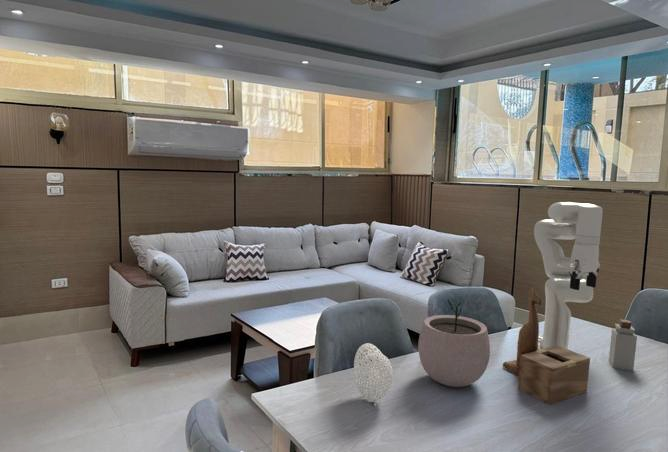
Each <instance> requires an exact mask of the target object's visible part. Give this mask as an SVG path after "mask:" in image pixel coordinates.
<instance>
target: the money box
mask: <svg viewBox="0 0 668 452" xmlns="http://www.w3.org/2000/svg"><path fill="white" fill-rule="evenodd" d="M568 349H569V348H568ZM568 349H565V348H562V347H560V346H554V347H550V348H546V349H542V350H537V351H535V352H531V353H527V354H523V355H520V367H519V376H518V381H517V389H518V390H519V391H521V392H523V393H525V394H527V395H529V396H531V397H533V398H535V399H537V400H538V401H541V402H543V403H545V404H546V405H548V406H551V405H554V404H556V403H560V402H562V401H565V400H567V399H571V398H573V397H576V396H579V395H582V394H584V393H587V392H588V383H589V375H590V373H589V372H590V363H591V357H589V356H586V355H584V354H580V353H578V352H576V351H572V350H570V349H569V350H568Z"/></svg>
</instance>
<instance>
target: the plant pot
mask: <svg viewBox="0 0 668 452" xmlns="http://www.w3.org/2000/svg"><path fill="white" fill-rule="evenodd" d="M461 300H462V299H461ZM461 300H459V302H458V304H457V305H455V309H454V307H452V304H451V302H450V301H449V299H447V302H448V304H449V306H450V309H451V311H453V312H454V313H455V314H453V315H452V314H438V315H437V314H436V315H432V316H428V317H426V318H425V319H424V321H423V323H422V326H421V329H420V333H419V337H418V345H417V347H418V348H417V349H418V356H419V359H420V364H421V366H422V367H423V370H424V371H425V373H426V374H427V375H428V376H429V377H430V378H431V379H433V380H434V381H436V382H437V383H438V384H442V385H443V386H447V387H451V388H453V387H455V388H461V387H466V386H470V385H472V384H474V383H475V382H477V381H478V380H480V379H481V377H482V376H483V375H484V373H485V372H486V370H487V368H488V365H489V361H490V354H491V345H490V336H489V332H488V328H487V326H486V324H484V323H483V322H481V321H479V320H476V319H474V318H470V317H465V316H461V315H460V314H461V312H462V307H460V309H459V306H461V304H462V302H461ZM458 310H459V312H458Z"/></svg>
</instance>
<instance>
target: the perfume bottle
mask: <svg viewBox="0 0 668 452" xmlns="http://www.w3.org/2000/svg"><path fill="white" fill-rule="evenodd" d="M614 325H615V328H611V336H610V343H609V353H608V355H609V356H608V363H609V364H610V365H611V367H612V368H613V369H621V370H626V371H627V370H628V371H634V370H635V369H634V368H635V358H636V350H637V340H638V336H637V335H636V334H635V332H636V329H635V328H634V326H632V321H630V320H627V319H620V318H619V323H614Z"/></svg>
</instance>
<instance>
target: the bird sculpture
mask: <svg viewBox="0 0 668 452" xmlns="http://www.w3.org/2000/svg"><path fill="white" fill-rule="evenodd" d="M536 290H537V289H536V288H534V287H533V288H530V289H529V291H528V294H527V296H528V306H529V310H528V311H529V312H528V321H526V322H525V323H524V324H523V325H522V326H521V328H520V329H519V331H518V337H517V338H518V339H517V349H516V350H517V351H516V360H508V361H504V362H503V363H502V368H504V370H507V372H508V371H509V372H510V373H512V374H513V375H514V376H516V377H519V367H520V355H523V354H527V353H531V352H535V351H538V346H539V342H538V337H539V336H540V324H539V323H540V322H539V315H538V310H537V305H539V306H541V305H542V299H541V297H540V296H539V295H538V293H537V291H536ZM536 304H537V305H536Z"/></svg>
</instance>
